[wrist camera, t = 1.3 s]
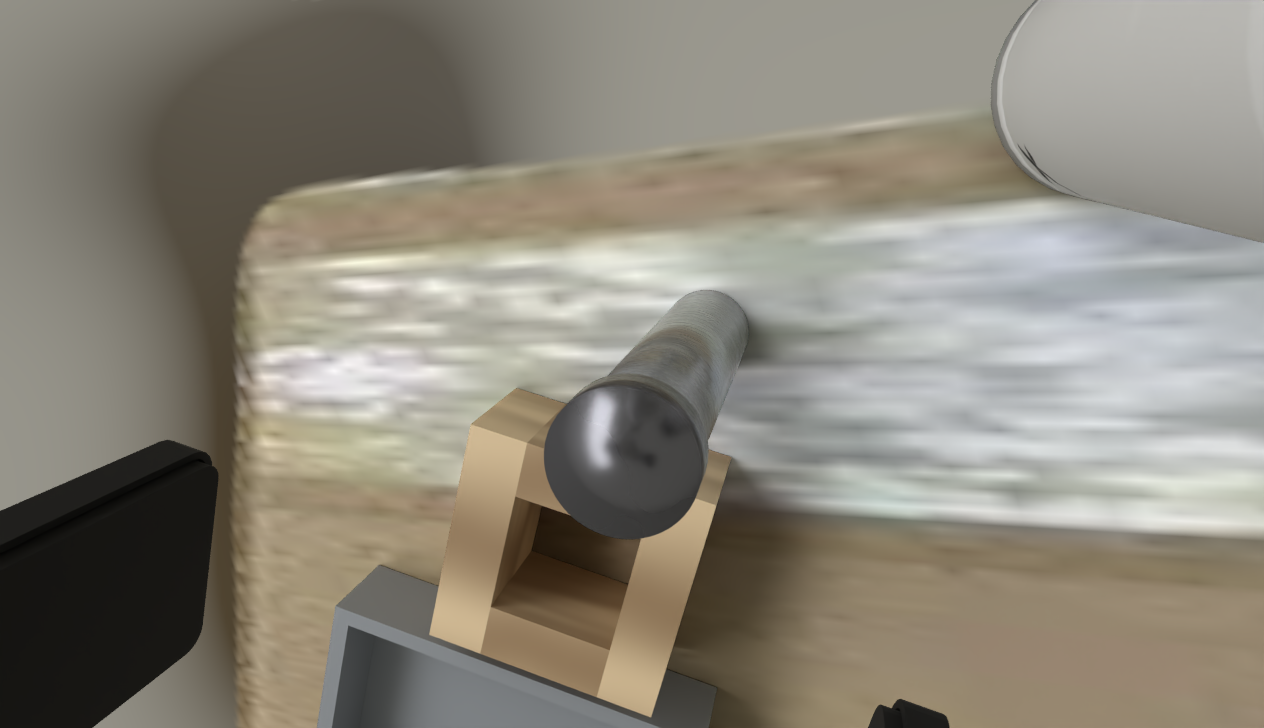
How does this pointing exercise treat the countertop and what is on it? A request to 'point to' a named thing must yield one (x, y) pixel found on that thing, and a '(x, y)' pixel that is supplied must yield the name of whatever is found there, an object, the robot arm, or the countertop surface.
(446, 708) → the tray
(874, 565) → the countertop surface
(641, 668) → the block
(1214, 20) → the travel mug
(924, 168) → the countertop surface
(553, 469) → the cylinder
